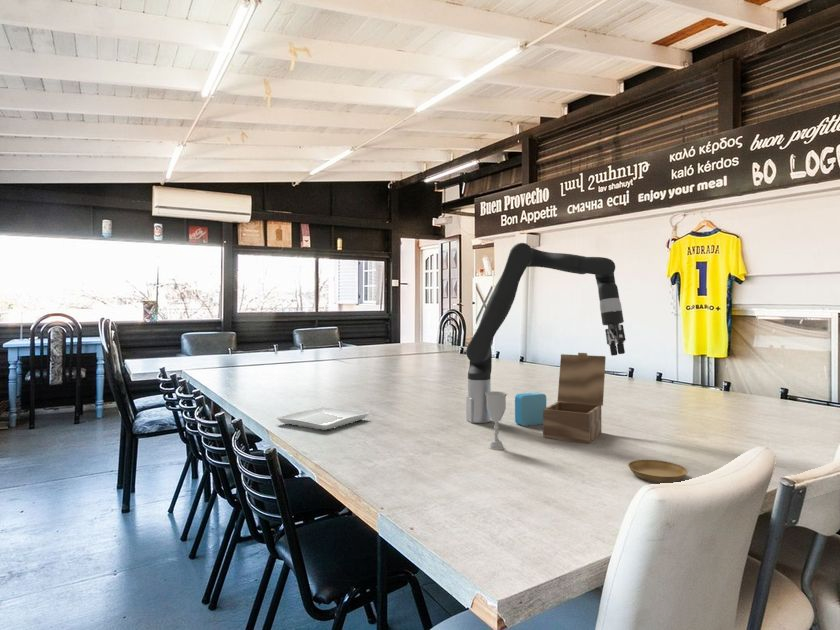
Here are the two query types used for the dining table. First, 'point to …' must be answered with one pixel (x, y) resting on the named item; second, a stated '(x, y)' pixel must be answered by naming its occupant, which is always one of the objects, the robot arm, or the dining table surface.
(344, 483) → the dining table surface
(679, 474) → the plant saucer
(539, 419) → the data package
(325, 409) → the square plate
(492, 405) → the chalice
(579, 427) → the walnut box
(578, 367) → the walnut lid
